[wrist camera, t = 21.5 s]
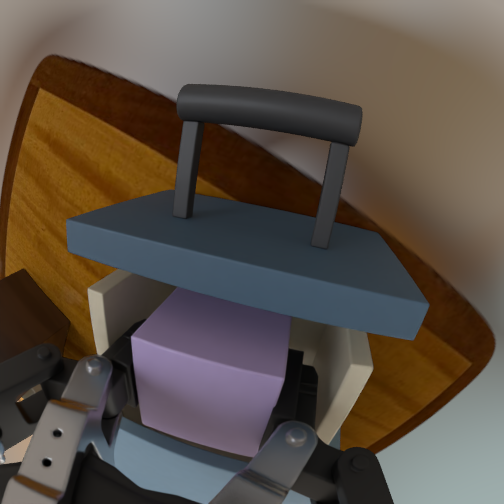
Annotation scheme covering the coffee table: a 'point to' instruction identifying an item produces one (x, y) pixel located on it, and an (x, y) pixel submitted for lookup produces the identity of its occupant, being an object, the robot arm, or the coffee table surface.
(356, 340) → the drawer
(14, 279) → the stand
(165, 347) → the purple cube
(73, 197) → the coffee table surface
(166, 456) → the cabinet
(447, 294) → the coffee table surface
